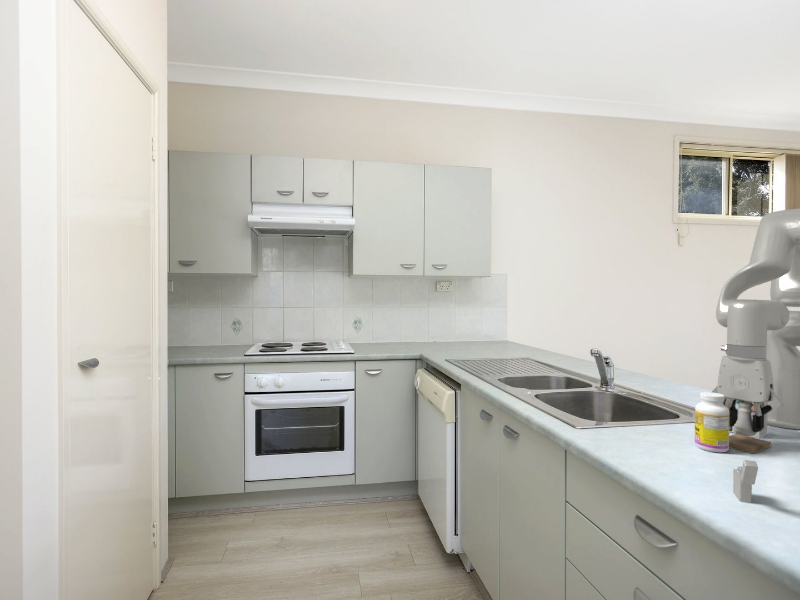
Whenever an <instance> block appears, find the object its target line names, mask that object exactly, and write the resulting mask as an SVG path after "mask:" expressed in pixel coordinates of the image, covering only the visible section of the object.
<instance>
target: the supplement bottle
mask: <svg viewBox="0 0 800 600" xmlns="http://www.w3.org/2000/svg"><path fill="white" fill-rule="evenodd" d="M699 398H700V400H701V401H700V402H698V403H697V404H696V405H695V408H694V444H695V445H694V446H696V447H697V448H698V449H700V450H704V451H706V452H712V453H727V452H728V451H729V450H730V449H729V448H730V447H729V436H730V432H729V409H728V408H727V407H726V406H724V405H723V402H724V400H725V399H724V395H722V394H719V393H712V391H711V392H709V391H703V392H700V395H699Z"/></svg>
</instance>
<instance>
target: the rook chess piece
mask: <svg viewBox="0 0 800 600" xmlns="http://www.w3.org/2000/svg"><path fill="white" fill-rule="evenodd" d="M737 404H738V405H739V409H738V410H739V415H738V419H737V421H736V423H735V424H734V427H735V428H734V429H733V430H734V431H735V432H736V433H738V434H740V435H744V436H746V435H747V436H749V437H750V436H754V435H755V434H756V432H753V431H752V416H751V412H753V411H752V410H751V408H752V407H753V406H754V405H753V403H752V402H747V401H741V400H739V401H738V402H737ZM736 433H735V434H736Z"/></svg>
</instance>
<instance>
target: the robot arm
mask: <svg viewBox="0 0 800 600" xmlns="http://www.w3.org/2000/svg"><path fill="white" fill-rule="evenodd" d="M768 282H770V287H769V289H770V290H769V292H770V293H769V296H770V297H769V298H770V299H745V298H744V299H742V298H741V299H740V298H739V297H740V296H741V295H742V294H743V293H745V292H746V291H747V290H749V289H751V288H754V287H756V286H760V285H762V284H765V283H768ZM789 307H790V308H800V208H791V209H782V210H777V211H772V212H770V213H767V214H764V215H763V216H762V217H761V219H760V221H759V225H758V227H757V231H756V236H755V239H754V242H753V247H752V250H751V255H750V258H749V263H748V264H747V265H745V266H743V267H742V268H741V269H739V270H738V271H736V272H735V273H734V274H733V275H732V276H731V277H730V278H729V279H728V280H727V281H725V283H724V285H723V286H722V288H721V290H720V294H719V298H718V301H717V304H716V311H715V317H716V320H717V323H718V324H719V325H720V326H721V327H722V328H723V327H724V328H725V329H726V331H727V332H726V344H725V345H723V344H722V345H721V346H720V351H721V352H725V354H726V355H723V356H722V358H721V361H720V365H719V370H718V375H717V376H718V377H717V386H716V387H714V388H713V390H712V391H711V392H712V393H719V394H722V395H724V399H725V400H724V402H723V405H724V406H726V407H727V408H728V409H729V426H730V427H732V426H734V424H735V423H736V421H737V419H738V410H737V409H736V407H735V406H736V403H737V400H741V401H747V402H752V403H753V405H754V409H755V415H753V419H752V431H753V432H759V431H761V430H762V429H763V428H764V415H765V414H766V413H767V426H768V425H769V426H772V427H778V428H783V429H790V430H800V350H799V349H798V347H800V310H789ZM767 401H768V405H766V406H765V402H767Z"/></svg>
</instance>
